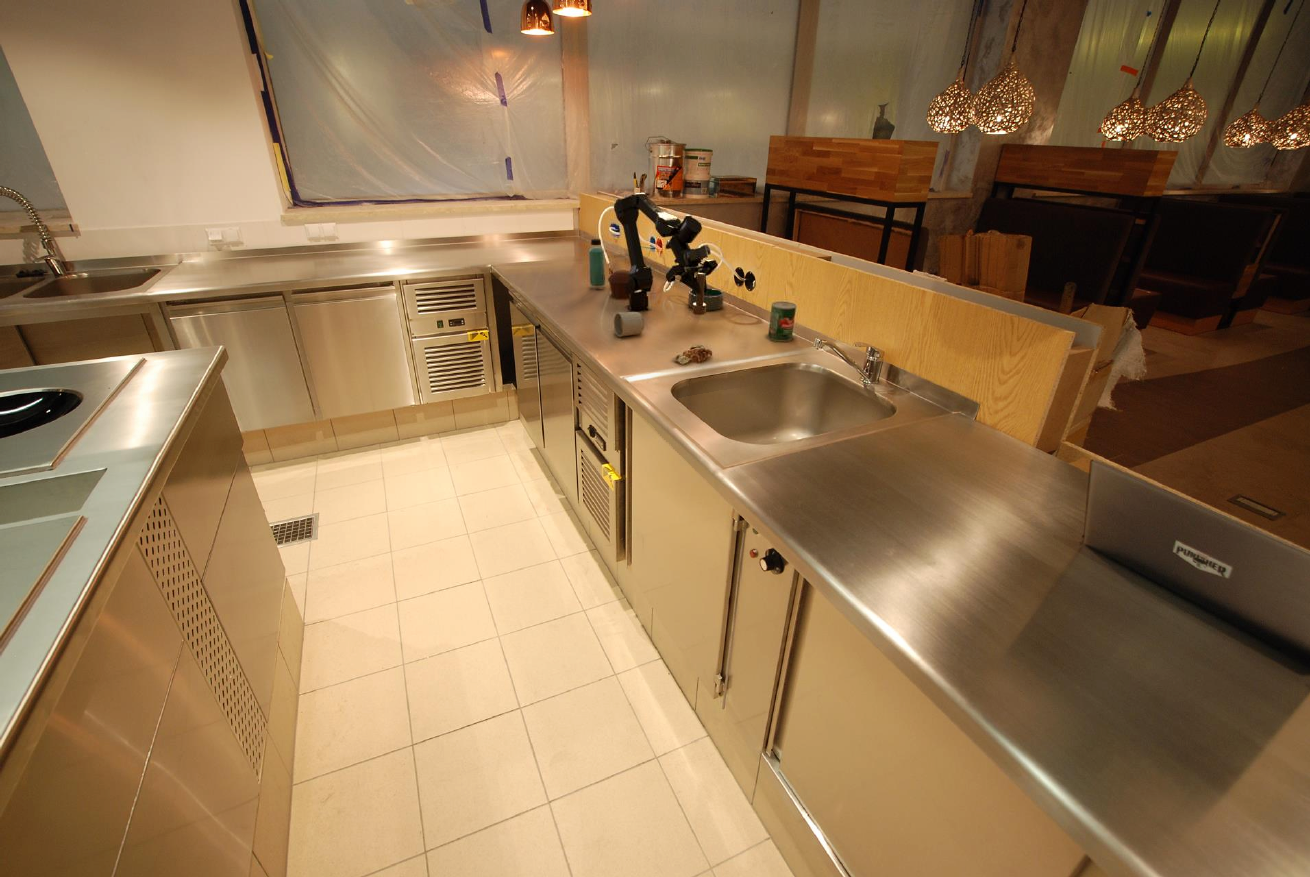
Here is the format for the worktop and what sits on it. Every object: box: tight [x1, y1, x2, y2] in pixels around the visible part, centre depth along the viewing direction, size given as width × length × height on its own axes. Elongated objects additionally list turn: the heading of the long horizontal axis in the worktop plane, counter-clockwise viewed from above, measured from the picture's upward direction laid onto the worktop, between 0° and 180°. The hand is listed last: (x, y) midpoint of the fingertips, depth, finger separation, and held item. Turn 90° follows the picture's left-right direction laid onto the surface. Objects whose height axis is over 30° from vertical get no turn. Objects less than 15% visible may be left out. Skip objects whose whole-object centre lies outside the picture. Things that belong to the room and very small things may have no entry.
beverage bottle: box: [588, 238, 606, 287], centre depth 239 cm, size 6×7×20 cm
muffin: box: [607, 269, 630, 300], centre depth 230 cm, size 12×11×10 cm
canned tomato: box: [767, 301, 797, 342], centre depth 187 cm, size 8×8×11 cm
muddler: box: [692, 273, 707, 316], centre depth 188 cm, size 4×4×13 cm
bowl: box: [687, 287, 725, 312], centre depth 220 cm, size 13×13×6 cm
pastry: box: [674, 344, 713, 365], centre depth 170 cm, size 7×12×4 cm, turn 134°
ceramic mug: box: [613, 311, 645, 338], centre depth 189 cm, size 11×8×8 cm
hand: (703, 292), depth 187 cm, fingers closed on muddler, 2 cm apart
